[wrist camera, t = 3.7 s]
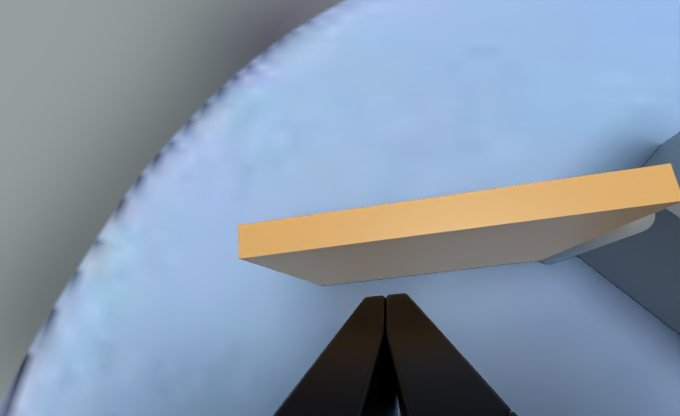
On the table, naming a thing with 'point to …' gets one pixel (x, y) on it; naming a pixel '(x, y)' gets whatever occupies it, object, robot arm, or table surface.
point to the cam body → (649, 253)
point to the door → (463, 228)
